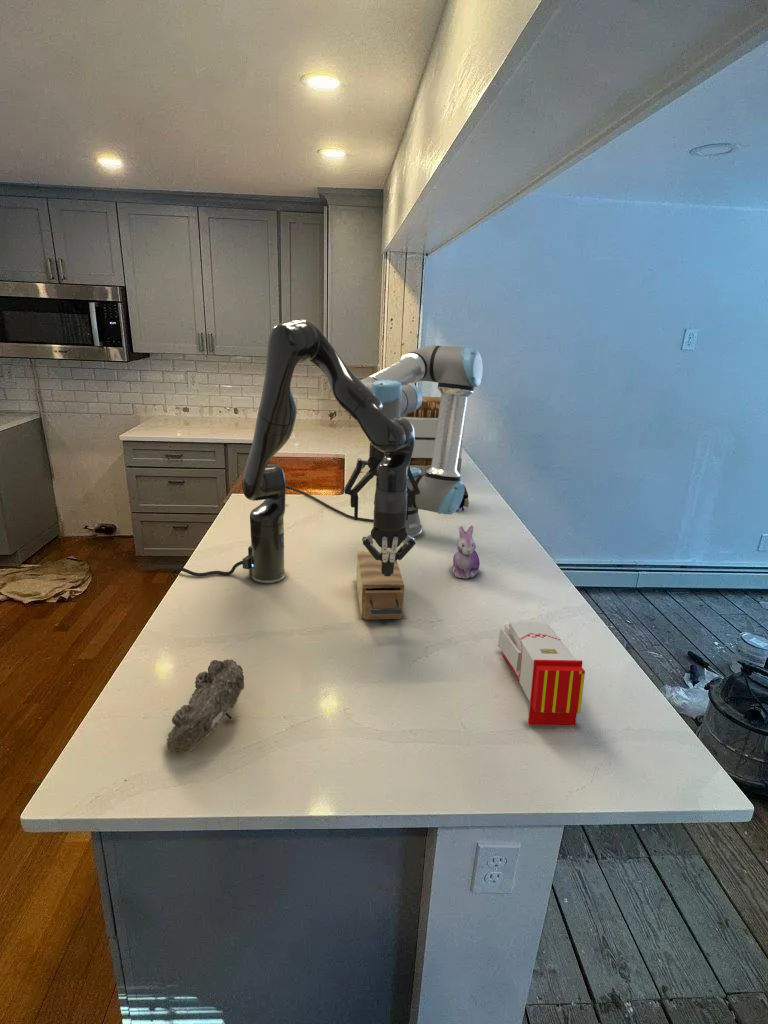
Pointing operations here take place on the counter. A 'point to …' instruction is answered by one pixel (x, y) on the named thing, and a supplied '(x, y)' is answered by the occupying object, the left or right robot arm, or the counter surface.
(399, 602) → the drawer
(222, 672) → the fossil
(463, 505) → the figurine character
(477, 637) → the counter surface
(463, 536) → the figurine
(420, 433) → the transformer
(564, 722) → the toy
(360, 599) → the cabinet
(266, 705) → the counter surface
